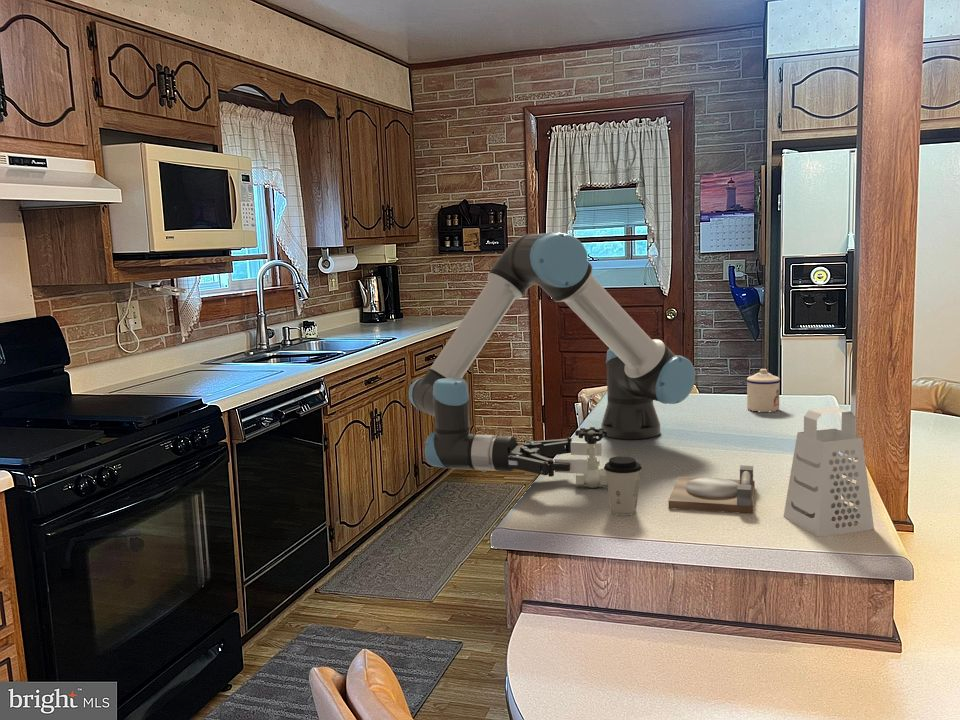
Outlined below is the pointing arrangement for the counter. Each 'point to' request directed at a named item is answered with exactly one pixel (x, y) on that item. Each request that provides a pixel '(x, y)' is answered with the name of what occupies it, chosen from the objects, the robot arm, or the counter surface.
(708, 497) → the shaft stand
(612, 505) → the coffee cup
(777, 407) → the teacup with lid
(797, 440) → the grater
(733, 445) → the counter surface
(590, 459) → the valve
